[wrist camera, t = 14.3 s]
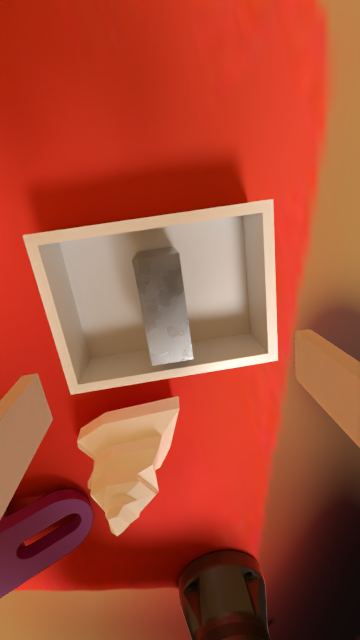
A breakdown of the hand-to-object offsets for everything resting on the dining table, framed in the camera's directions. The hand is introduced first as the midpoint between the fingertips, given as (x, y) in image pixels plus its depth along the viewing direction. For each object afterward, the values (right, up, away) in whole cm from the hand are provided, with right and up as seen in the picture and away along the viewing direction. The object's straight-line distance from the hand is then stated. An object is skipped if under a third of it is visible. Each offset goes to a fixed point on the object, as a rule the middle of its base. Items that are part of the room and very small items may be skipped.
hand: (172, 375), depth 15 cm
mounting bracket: (-22, -26, +29) cm, 45 cm away
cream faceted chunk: (-6, -12, +26) cm, 29 cm away
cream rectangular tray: (-2, +6, +19) cm, 21 cm away
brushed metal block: (-2, +6, +19) cm, 20 cm away
